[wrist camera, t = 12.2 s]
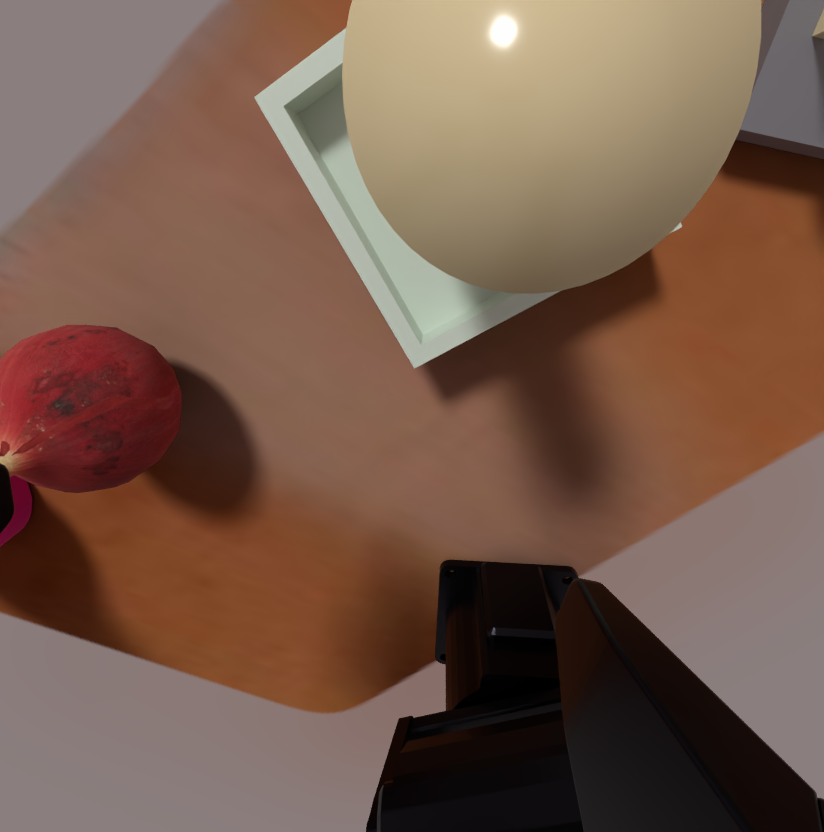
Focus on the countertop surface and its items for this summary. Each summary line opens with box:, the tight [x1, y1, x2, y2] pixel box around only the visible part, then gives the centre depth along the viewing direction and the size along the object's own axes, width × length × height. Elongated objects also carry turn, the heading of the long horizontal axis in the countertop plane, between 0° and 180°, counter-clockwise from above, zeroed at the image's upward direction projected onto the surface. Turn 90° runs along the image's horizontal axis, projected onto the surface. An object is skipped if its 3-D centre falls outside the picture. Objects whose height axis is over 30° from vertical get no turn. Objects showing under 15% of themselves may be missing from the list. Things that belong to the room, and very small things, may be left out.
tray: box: [254, 29, 682, 368], centre depth 16 cm, size 9×9×3 cm
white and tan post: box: [342, 0, 761, 294], centre depth 10 cm, size 4×4×12 cm
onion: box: [0, 325, 182, 493], centre depth 17 cm, size 6×6×8 cm
